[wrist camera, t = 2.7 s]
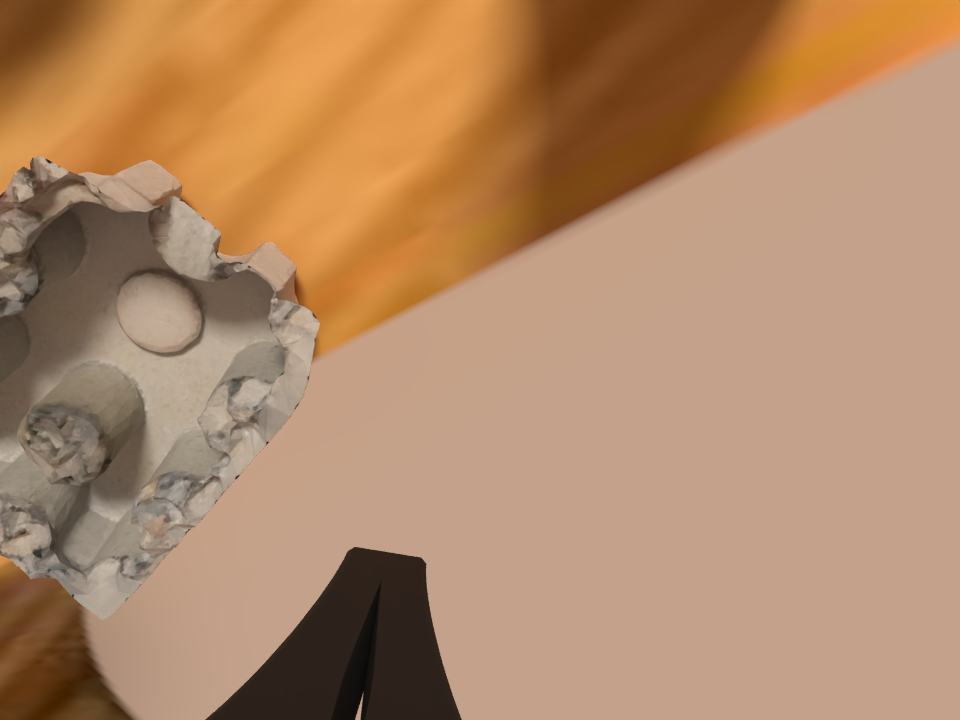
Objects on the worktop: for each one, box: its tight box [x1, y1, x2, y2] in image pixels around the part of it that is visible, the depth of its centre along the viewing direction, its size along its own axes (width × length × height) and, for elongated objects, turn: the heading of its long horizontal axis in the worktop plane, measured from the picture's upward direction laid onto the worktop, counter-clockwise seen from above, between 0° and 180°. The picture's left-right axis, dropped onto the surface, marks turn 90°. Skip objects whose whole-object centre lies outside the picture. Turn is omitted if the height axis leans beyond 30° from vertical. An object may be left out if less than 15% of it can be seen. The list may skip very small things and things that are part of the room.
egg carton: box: [0, 157, 320, 620], centre depth 18 cm, size 11×8×4 cm
